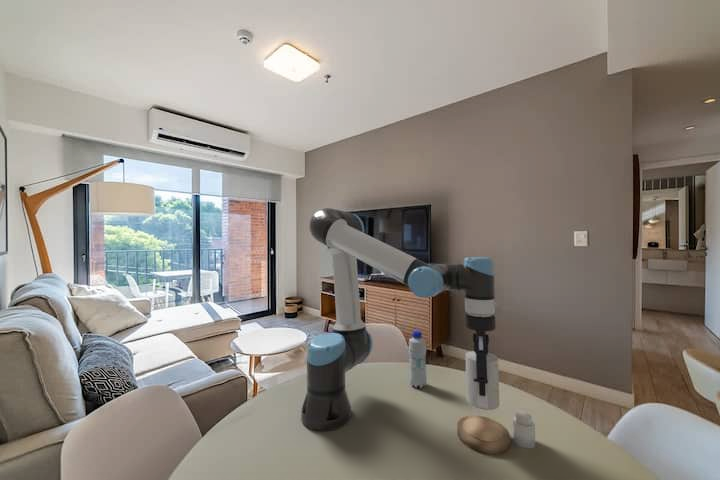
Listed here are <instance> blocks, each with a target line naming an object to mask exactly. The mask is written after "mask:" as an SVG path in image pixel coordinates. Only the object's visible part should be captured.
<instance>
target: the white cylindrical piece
mask: <svg viewBox="0 0 720 480" xmlns="http://www.w3.org/2000/svg"><path fill="white" fill-rule="evenodd" d="M486 356H487V380H488V409H487V408H482V407H477V390H476V382H475V381H474V379H476V378H477V371H476V353H475V352H474V350H473V351H468V352H466V353H465V385H466V387H465V388H466V391H465V392H466V401H467V403H468V404H469V405H471V406H472V407H475V408H477V409H480V410H484V411H485V410H487V411H490V410H491V411H492V410H496V409H498V408H499V407H500V382H499V377H500V375H499V357H498V356H497V355H495V354H494V353H491V352H488V354H487V355H486Z"/></svg>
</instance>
